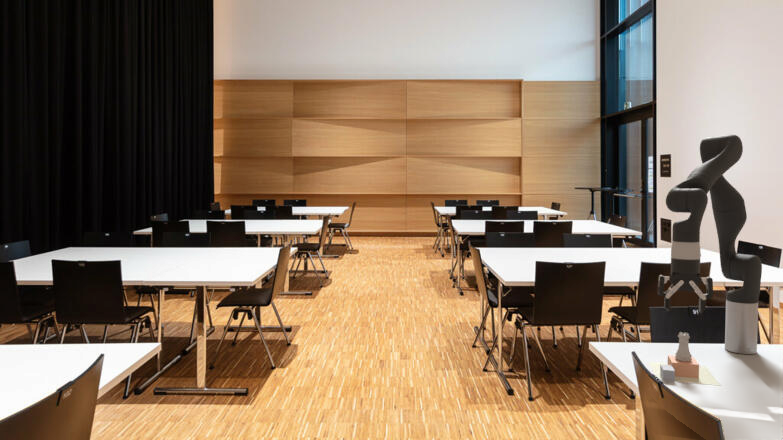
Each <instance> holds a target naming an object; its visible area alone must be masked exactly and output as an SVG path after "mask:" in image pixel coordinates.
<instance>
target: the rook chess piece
mask: <svg viewBox="0 0 783 440" xmlns="http://www.w3.org/2000/svg"><path fill="white" fill-rule="evenodd" d="M677 337H678V348H677V350H676V352H675V355H674V356H676V357H675V358H676V360H678V361H682V362H690V361H691V360H692V359H691V357H693V355H692V354H691V351H690V348H689V344H690V341H689V340H690V338H691V336H690V334H689V333H688V332H685V331H684V332H682V331H680V332H678V335H677Z"/></svg>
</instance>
